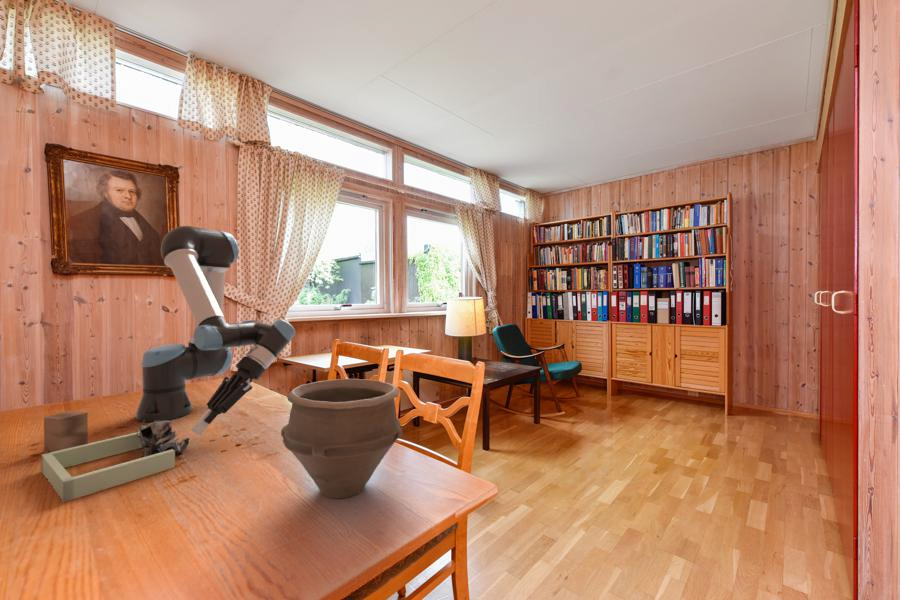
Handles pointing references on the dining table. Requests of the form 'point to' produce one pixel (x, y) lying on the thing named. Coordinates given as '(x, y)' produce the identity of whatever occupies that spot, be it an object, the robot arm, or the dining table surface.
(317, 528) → the dining table surface
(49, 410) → the dining table surface
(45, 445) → the walnut block
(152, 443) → the grey crumpled lump
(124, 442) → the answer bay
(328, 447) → the planter
